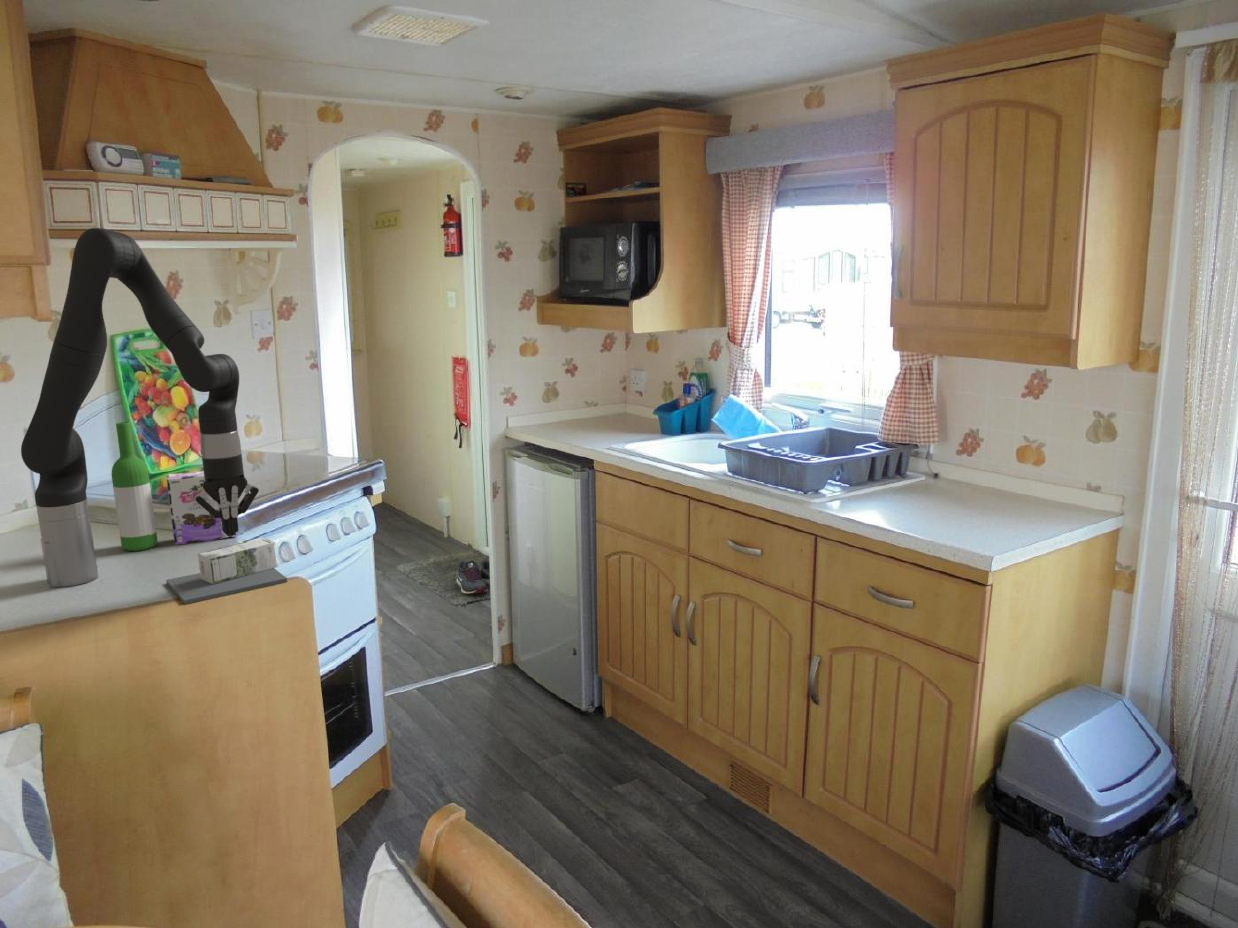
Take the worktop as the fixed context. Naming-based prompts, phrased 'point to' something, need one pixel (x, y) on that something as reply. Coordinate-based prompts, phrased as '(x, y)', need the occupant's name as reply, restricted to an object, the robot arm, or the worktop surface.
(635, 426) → the worktop surface
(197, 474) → the candy box
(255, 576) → the mat
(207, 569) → the syrup box
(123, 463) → the wine bottle
